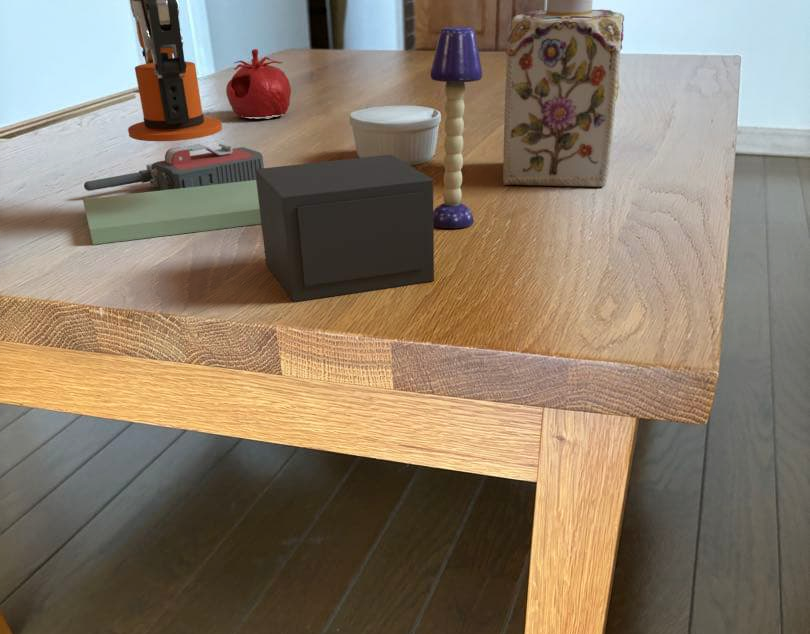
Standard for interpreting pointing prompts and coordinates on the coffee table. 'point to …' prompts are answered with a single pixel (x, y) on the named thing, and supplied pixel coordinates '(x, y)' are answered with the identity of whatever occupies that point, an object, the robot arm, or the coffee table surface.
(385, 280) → the box
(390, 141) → the ramekin
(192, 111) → the hat
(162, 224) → the board
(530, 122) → the decorative jar
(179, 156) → the walkie-talkie
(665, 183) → the coffee table surface
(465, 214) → the toy lamp
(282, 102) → the red hollow tomato
